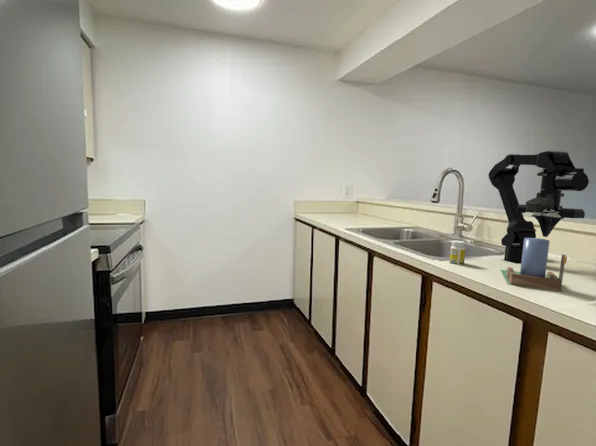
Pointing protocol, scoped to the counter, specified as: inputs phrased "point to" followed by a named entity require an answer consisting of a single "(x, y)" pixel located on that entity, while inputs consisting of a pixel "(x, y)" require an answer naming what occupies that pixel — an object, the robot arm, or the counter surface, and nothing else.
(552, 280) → the wooden rack
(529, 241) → the blue domed cylinder
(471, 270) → the counter surface
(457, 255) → the supplement bottle
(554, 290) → the felt mat
